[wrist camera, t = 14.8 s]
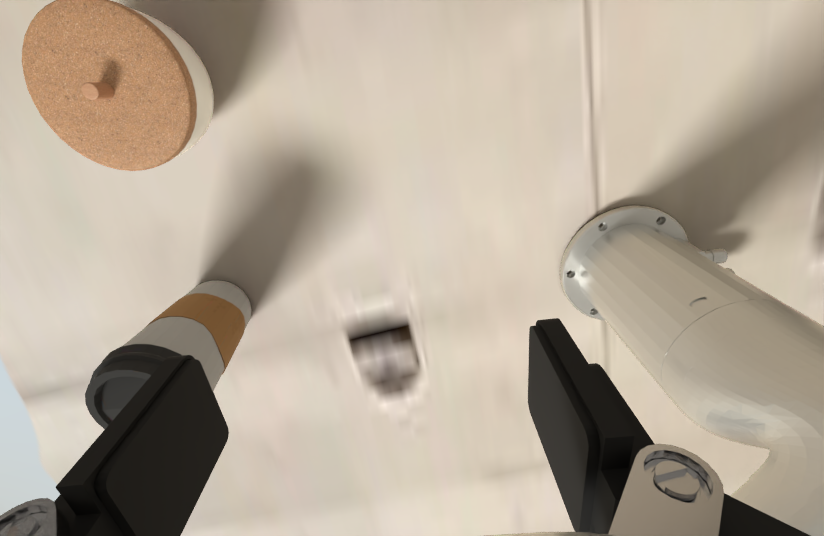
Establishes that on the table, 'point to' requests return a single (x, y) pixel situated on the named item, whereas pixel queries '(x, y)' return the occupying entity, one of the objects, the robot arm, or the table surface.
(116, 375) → the coffee cup
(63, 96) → the lidded jar
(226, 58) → the table surface
